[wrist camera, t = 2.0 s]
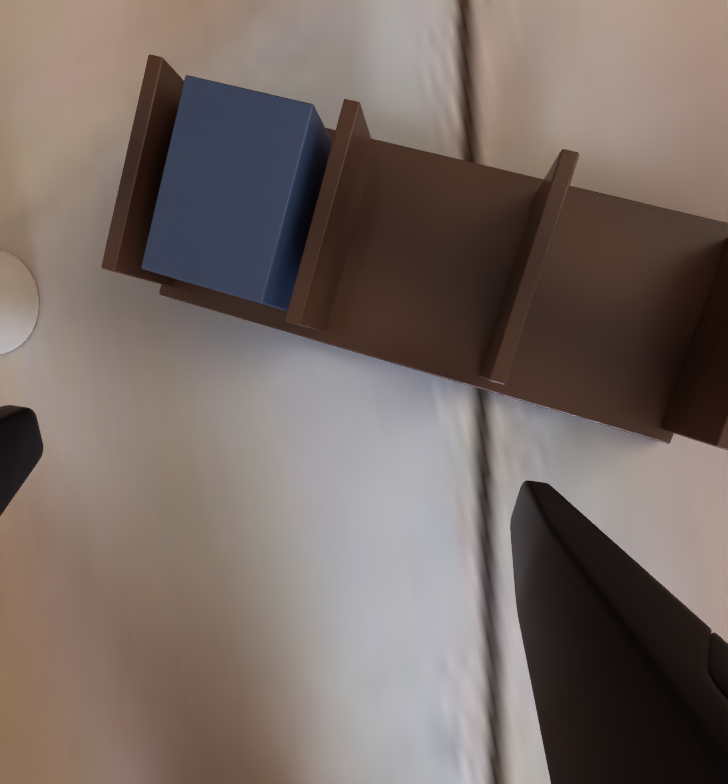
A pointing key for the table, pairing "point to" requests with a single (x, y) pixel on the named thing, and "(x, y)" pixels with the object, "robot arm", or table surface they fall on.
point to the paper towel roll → (16, 302)
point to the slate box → (238, 192)
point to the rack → (481, 277)
